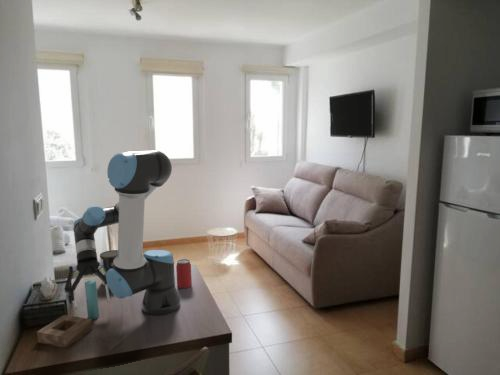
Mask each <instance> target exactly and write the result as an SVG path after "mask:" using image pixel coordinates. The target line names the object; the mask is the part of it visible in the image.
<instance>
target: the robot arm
mask: <svg viewBox="0 0 500 375" xmlns="http://www.w3.org/2000/svg"><path fill="white" fill-rule="evenodd" d="M171 162H172V161H171V160H170V158H169V157H168V155H166V154H165V153H163V152H162V151H159V150H155V149H149V150H137V151H123V152H118V153H116V154H114V155H113V156H112V157H111V158H110V160H109V162H108V166H107V171H106V172H107V178H108V182H109V184H110V185H111V187H113V188H114V192H115V193H117V194H118V201H117V203H116V204H115V205H113V206H109V207H104V208H103V207H101V206H97V205H91V206H89V207H88V208H87V209H86V210H85V211H84V212H83V215H82V217H79V218H77V219H76V220H75V221H74V222H73V227H72V228H73V229H72V230H73V235H74V244H75V254H76V263H77V264H76V266H69V267H68V270H69V273H68V276H67V280H66V282H65V285H64V293H66V294H67V293H69V294H70V301H71V302H73V301H74V302H73V303H74V309H75V310H78V301H77V292H76V289H77V286H78V285H79V284H80V281H81V280H82V278H83V277H84V276H89V275H95V276H97V277H98V278H99V279H100V280H101V282H102V281H103V282H104V283H105V284H106V286H105V285H104V286H105V294H106V300H107V303H109V304H110V302H111V297H110V294H113V296H115V297H116V298H118V299H126V298H128V297H129V298H130V297H132V296H133V295H135V294H138V293H141V292H144V295H143V297H142V298H143V299H142V302H141V307H142V308H141V309H142V311H143V312H144V313H146V314H148V315H152V316H160V315H161V316H162V315H166V314H170V313H173V312H175V311H177V310H178V309H179V308H180V306H181V298H180V296H179V293H178V290H177V289H176V281H175V280H176V279H175V278H176V276H175V261H174V254H173V253H172V252H171V251H169V250H164V249H151V250H146V251H144V252H143V247H144V246H143V244H144V225H145V223H144V222H145V201H146V199H147V198H148V197H149V196H150V195H151V194H152V193H153V192H154V191H155V190H156V189H157V188H160V187H162V186H164V184H165V183H166V182H167V181H168V180H169V178H170V177H171V175H172V170H173V169H172V168H173V167H172V163H171ZM117 224H118V226H117V227H118V228H117V230H118V231H117V232H118V234H117V235H118V238H117V250H118V256H117V257H116V258H115V259H114V260H113V268H112V269H109V268H108V267H107V264H106V261H103V262H101V261H100V262H99V261H98V254H97V246H96V240H95V239H96V238H95V233H96V232H97V230H98V229H99V228H103V227H104V228H105V227H108V226H112V225H117ZM99 267H100V268H101V267H102V268H104V271H105V272H106V277H105V276H104V275H103V274H102V273H101V271H100V269H99ZM76 271H77V272H78V275H77V276H76V278H75V280H74V281H73V283H71V282H72V280H73V277H74V273H76ZM71 284H72V285H71Z"/></svg>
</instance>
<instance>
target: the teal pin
mask: <svg viewBox="0 0 500 375" xmlns="http://www.w3.org/2000/svg"><path fill="white" fill-rule="evenodd" d="M97 287H98V286H97V281H96V280H94V279H93V280H92V279H91V280H88V281H86V282H84V289H85V290H84V291H85V302H86V310H87V311H86V312H87V319H91V320H95V319H97V318H99V317H100V310H99V300H98V288H97Z"/></svg>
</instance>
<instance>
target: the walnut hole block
mask: <svg viewBox="0 0 500 375" xmlns="http://www.w3.org/2000/svg"><path fill="white" fill-rule="evenodd" d="M91 331H92V319H88V318H85V317H80V316H79V317H78V316H73V315H68V314H63V315H62V316H60V317H58V318H57V319H55V320H53V321H52V322H50V323H49V324H46V325H45V326H43V327H42V328H41V329H39V330H38V331H36V334H37V342H38V344H43V345H48V346H54V347H58V348H63V349H67V348H69V347H70V346H72V345H73V344H74V343H76V342H77V341H78V340H80V339H81V338H82V337H84V336H85V335H86V334H88V333H89V332H91Z"/></svg>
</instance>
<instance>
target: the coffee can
mask: <svg viewBox="0 0 500 375" xmlns="http://www.w3.org/2000/svg"><path fill="white" fill-rule="evenodd" d="M117 256H118V249H111V250H105V251H103V252H100V254H99V259H100V262H103V261H106V264H107V267H108V268H109V269H112V268H113V260H114V259H115V258H116V257H117ZM100 269H101V271H100V272H101V273H102V274H103V275H104V276H105V277H106V272H105V271H104V268H102V267H101V266H100ZM101 284H102V285H103V286H106V284H105V283H104V282H103V281H102V280H101Z"/></svg>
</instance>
